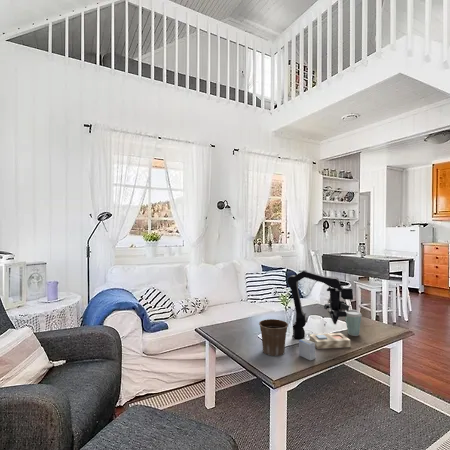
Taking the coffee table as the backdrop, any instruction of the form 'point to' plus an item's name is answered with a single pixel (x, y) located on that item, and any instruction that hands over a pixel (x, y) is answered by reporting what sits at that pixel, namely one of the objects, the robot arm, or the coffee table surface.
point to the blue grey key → (321, 337)
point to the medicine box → (307, 349)
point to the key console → (330, 341)
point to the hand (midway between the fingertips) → (335, 324)
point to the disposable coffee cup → (353, 322)
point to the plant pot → (273, 336)
